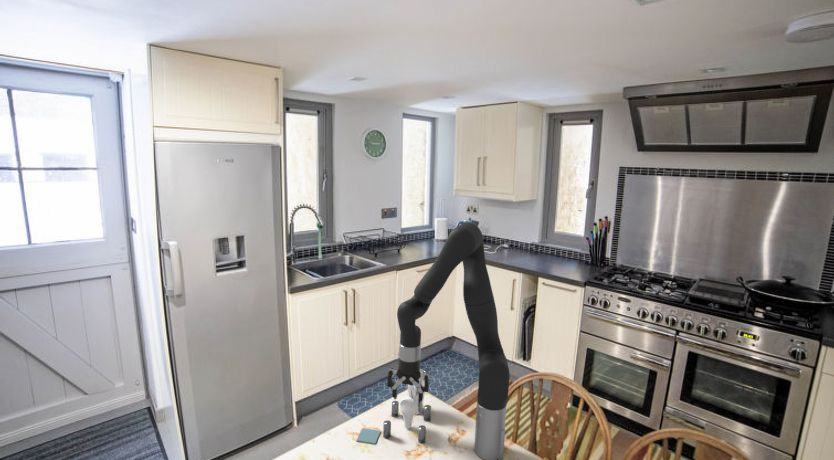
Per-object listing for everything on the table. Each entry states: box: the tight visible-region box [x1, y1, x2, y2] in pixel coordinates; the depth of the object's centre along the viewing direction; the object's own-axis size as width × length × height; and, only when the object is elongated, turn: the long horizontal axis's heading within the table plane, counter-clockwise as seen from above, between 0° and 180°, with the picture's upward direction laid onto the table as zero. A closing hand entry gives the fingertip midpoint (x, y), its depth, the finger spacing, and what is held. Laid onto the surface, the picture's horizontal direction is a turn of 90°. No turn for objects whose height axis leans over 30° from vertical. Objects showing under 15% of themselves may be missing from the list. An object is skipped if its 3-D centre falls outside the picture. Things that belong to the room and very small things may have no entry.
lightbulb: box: [399, 396, 417, 429], centre depth 142 cm, size 6×6×11 cm
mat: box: [356, 427, 381, 445], centre depth 137 cm, size 6×6×1 cm
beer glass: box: [407, 368, 426, 416], centre depth 152 cm, size 7×7×15 cm
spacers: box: [382, 400, 432, 445], centre depth 142 cm, size 14×14×5 cm
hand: (407, 399), depth 140 cm, fingers open, 8 cm apart
